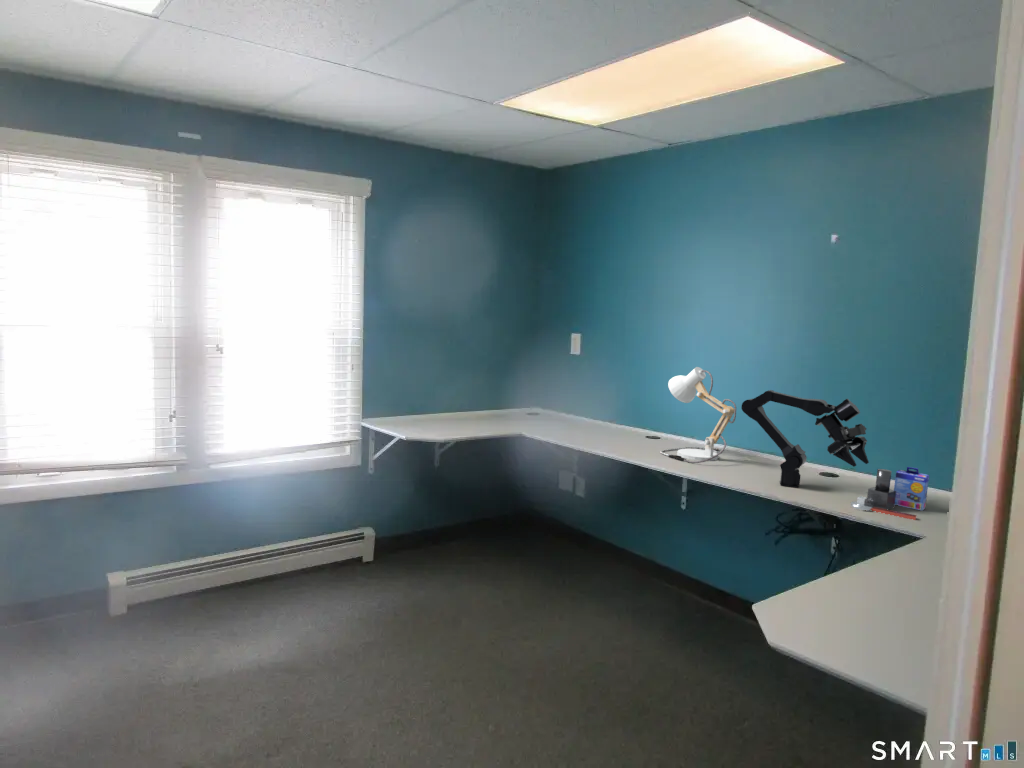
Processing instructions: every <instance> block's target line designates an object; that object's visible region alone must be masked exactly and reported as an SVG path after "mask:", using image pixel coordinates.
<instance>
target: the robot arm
mask: <svg viewBox="0 0 1024 768" xmlns="http://www.w3.org/2000/svg"><path fill="white" fill-rule="evenodd" d="M769 402H774V403H777V404H781V405H785V406H788V407H789V406H790V407H794V408H797V409H800V410H803V412H806V413H808V414H810V415H812V416H815V417H817V418H816V419H815V423H814V425H815V426H821V425H822V426H823V427H824V429H825V430H826V431H827V433H828V435H827V436H828V438H829V439H832V440H833V442H832V443H831V444H829V445H827V452H828V453H829V454H830V455H832V456H835V457H836V458H838V459H839V460H842V461H844V462H845V463H847V464H849V465H850V466H852V467H854V468H855V467H856V466H857V463H856V461H855V459H854V458H853V456H852V455H854V456H855V457H856V458H858V459H859V460H860V461H861V462H863V463H864V464H865V465H868V464H869V463H870V462H869V459H868V456H867V453H866V450H865V447H866V446H867V442H868V440H867V438H866V437H865V436H861V435H866V434H867V433H866V431H867V427H865V425H864V424H862V423H858V424H855V426H854V427H848V426H847V425H846V426H844V424H843V423H842V422H849V421H850V420H851V419H853V418H854V417H856V416H857V415H859V414H861V411H860V409H859V408H858V406H857V405H856V404H854V403H853V402H852V401H851V400H850V399H849V398H845V399H844V400H842V402H840V403H839V404H838V405H834V404H830V403H828V402H827V401H826V400H824V399H819V398H803V397H799V396H795V395H791V394H786V393H782V392H778V391H775V390H772V389H769V390H765V391H764V392H763V393H761V394H759V395H758V396H755V397H754V398H748V399H746V400H744V401H743V402H742V403H741V410H742V412H743V414H745V415H747V417H749V418H750V419H752V420H754V421H755V422H756V423H757V424H758V425H759V426H760V427H761V428H762V430H763V431H764V432H765V433H766V434H767V435H768V436H769V438H770V439H771V440H772V441H773V442H774V443H775V444H776V446H777V447H778V448H779V449H780V451H781V452H782V456H783V458H784V460H785V461H784V462H781V464H780V465H779V466H780V478H779V481H778V482H779V485H780V486H782V487H789V488H790V487H791V488H799V486H800V485H801V474H800V468H801V467H802V466H803V465H805V464H806V462H807V459H808V458H807V455H806V451H805V450H803V449H802V447H801V445H800V444H796V445H795V444H792V443H791V442H790V440H788V438H787V437H786V436H785V435H784V434H783V433H782V431H781V430H779V428H778V427H777V425H775V424H774V422H773V421H772V420H771V419H770V418H769V417H768V416H767V414H766V412H765V409H764V407H763V406H764V405H766V404H768V403H769ZM823 415H824V416H823ZM820 416H822V417H820ZM819 417H820V418H819Z"/></svg>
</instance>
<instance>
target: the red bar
mask: <svg viewBox="0 0 1024 768" xmlns="http://www.w3.org/2000/svg"><path fill="white" fill-rule="evenodd" d="M850 506H851V507H853V508H856V509H861V510H867V511H866V512H873V511H876V512H875V513H878V512H881V513H880V514H883V513H885V514H884V515H888V514H890V515H889V516H892V515H894V516H893V517H897V516H899V518H902V517H903V519H909V520H912V519H913V521H916V520H917V517H918V516H917V514H912V513H907V512H901V511H896V510H891V509H888V510H887V509H882V508H877V507H873V505H871V504H868V498H867V497H866V496H862V495H860V496H857V499H856V501H851V502H850ZM851 507H850V508H851ZM853 508H852V509H853ZM856 509H855V510H856ZM870 510H872V511H870Z"/></svg>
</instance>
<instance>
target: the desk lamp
mask: <svg viewBox="0 0 1024 768" xmlns="http://www.w3.org/2000/svg"><path fill="white" fill-rule="evenodd" d="M706 373H707V374H708V375H709V377H710V387H709V391H707V388H706V387H705V385H704V383H703V380H704V379H705V378H706V377H707V375H706ZM667 384H668V385H667V387H668V389H669V391H670V394H671V395H672V396H673V397H674V398H675V399H676V400H678V401H679V402H681V403H685V404H688V403H692V401H693V400H694V399H695V397H696V396H697V397H698V398H699V399H701V400H702V401H703V402H705V403H706V404H708V405H709V406H710V407H713V408H714V409H715V410H717V411H718V412H720V413H721V414H722V415H721V417H720V418H719V420H718V422H717V424H716V425H715V427H714V428H713V431H712V433H711V434H710V435H709V436H706V437H705V440H704V447H700V446H685V447H675V448H667V449H662V450H660V451H659V452H660V454H662V455H664V456H666V457H668V458H671V459H673V460H677V461H680V462H687V463H691V464H701V463H705V462H709V461H710V462H711V461H712V462H713V461H717V460H718V459H719V455H721V454H722V453H723V452H724V451H725V449H726V448H727V442H726V439H725V438H724V436H723V435H722V434H723V432H724V431H725V428H726V427H727V425H728V424H729V423H730V424H734V423H735V421H736V417H737V405H736V403H735V402H734V401H733V400H731V399H729V398H724V399H723V400H722V401H720V400H719V399H717V398H716V397H714V396H713V395H711V394H712V390H713V387H714V378H713V376H712V373H711V372H710V371H708V370H706V369H703V368H702V367H699V366H695V368H693V369H692V370H691V371H690V372H689V373H688V374H687V375H684V374H683V375H680V374H679V375H675V376H673V377H671V378H670V379H669V380H668V382H667ZM728 401H729V402H731V404H732V405H733V406H731V405H727V404H726V403H725V402H728ZM732 417H733V419H732ZM731 419H732V420H731ZM719 439H721V440H722V441H723V444H724V445H723V448H722V449H721V450H719V448H714V446H715V445H716V444H717V443H718V441H719ZM670 451H676V455H675V454H668V453H665V452H670Z"/></svg>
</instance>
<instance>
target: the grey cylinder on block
mask: <svg viewBox="0 0 1024 768" xmlns="http://www.w3.org/2000/svg"><path fill="white" fill-rule="evenodd" d="M892 473H893V472H892V470H890V469H884V468H877V471H876V480H875V485H874V486H873V487H869V488H868V489H867V497H866V498H868V504H871V505H873V507H877V508H882V509H888V510H891V509H894V508H895V506H896V505H895V497H896V491H894V489H891V479H892ZM893 507H894V508H893ZM890 508H891V509H890Z"/></svg>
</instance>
